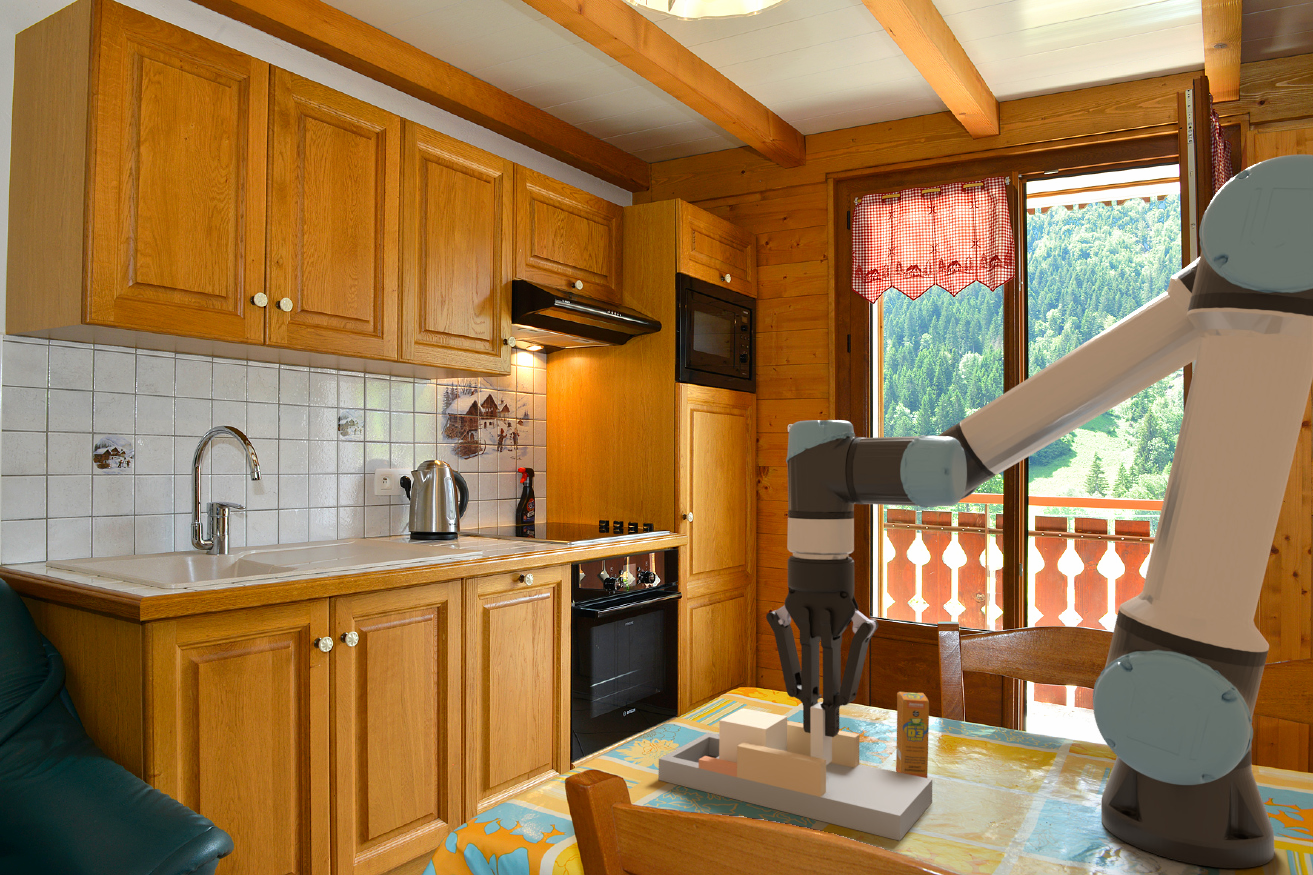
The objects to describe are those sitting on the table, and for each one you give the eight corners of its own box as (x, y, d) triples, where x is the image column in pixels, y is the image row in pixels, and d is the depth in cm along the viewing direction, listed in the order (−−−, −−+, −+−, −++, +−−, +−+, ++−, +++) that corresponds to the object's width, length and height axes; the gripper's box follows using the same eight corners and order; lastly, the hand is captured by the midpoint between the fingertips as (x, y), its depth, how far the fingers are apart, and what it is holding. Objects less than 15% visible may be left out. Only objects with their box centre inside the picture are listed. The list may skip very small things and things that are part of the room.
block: (787, 758, 102) (787, 716, 102) (765, 773, 97) (765, 729, 97) (742, 748, 105) (742, 708, 106) (719, 762, 100) (719, 720, 101)
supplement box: (900, 782, 101) (901, 698, 102) (895, 772, 105) (895, 690, 105) (929, 784, 101) (929, 699, 101) (923, 773, 105) (923, 691, 105)
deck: (932, 801, 96) (932, 747, 96) (900, 840, 86) (900, 780, 86) (707, 751, 112) (708, 705, 112) (658, 779, 102) (659, 729, 102)
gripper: (886, 555, 97) (888, 764, 96) (782, 549, 104) (782, 743, 103) (864, 561, 91) (865, 785, 90) (754, 554, 98) (755, 761, 97)
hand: (821, 762), depth 97 cm, fingers closed
